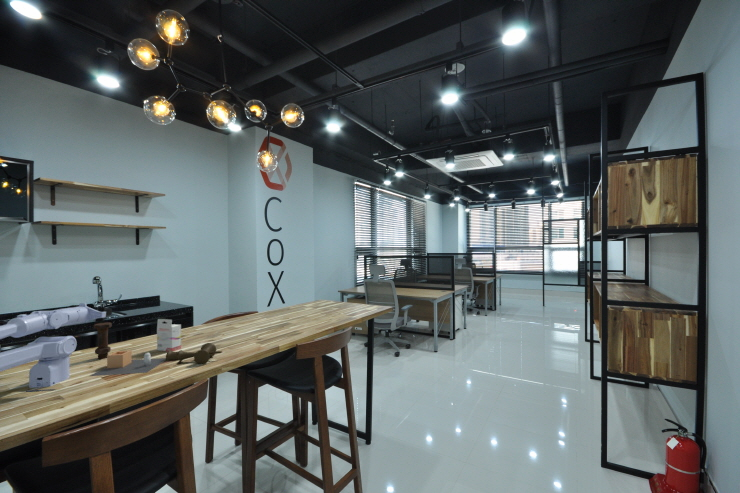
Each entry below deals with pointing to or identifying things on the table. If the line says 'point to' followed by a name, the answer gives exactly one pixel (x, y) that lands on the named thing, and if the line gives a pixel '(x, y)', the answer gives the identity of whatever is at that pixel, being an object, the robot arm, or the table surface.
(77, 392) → the table surface
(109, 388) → the table surface
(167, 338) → the ink cartridge box
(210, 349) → the kendama
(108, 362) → the tan cube block
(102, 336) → the bolt
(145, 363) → the board
